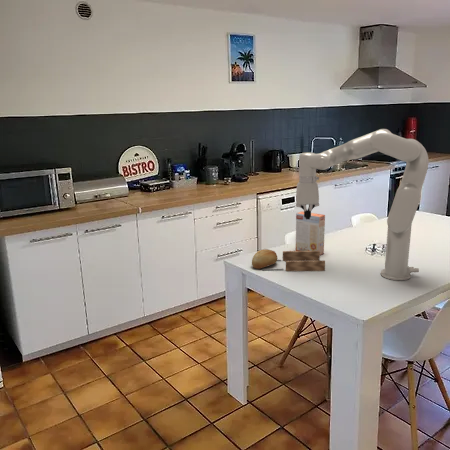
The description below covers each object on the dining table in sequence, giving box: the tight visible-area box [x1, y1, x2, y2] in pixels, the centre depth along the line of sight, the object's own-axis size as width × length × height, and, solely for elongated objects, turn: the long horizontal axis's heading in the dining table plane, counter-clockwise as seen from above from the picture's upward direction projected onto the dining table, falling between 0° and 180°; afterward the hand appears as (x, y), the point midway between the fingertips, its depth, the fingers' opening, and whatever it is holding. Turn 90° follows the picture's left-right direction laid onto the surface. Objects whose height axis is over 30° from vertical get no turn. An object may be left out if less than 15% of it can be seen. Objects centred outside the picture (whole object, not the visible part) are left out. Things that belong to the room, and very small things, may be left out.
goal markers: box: [261, 259, 285, 272], centre depth 217 cm, size 10×14×1 cm
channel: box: [282, 250, 326, 272], centre depth 216 cm, size 18×16×4 cm
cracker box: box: [295, 210, 326, 256], centre depth 232 cm, size 14×6×21 cm, turn 47°
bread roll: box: [251, 248, 279, 270], centre depth 216 cm, size 10×15×8 cm, turn 133°
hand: (307, 218), depth 210 cm, fingers closed
